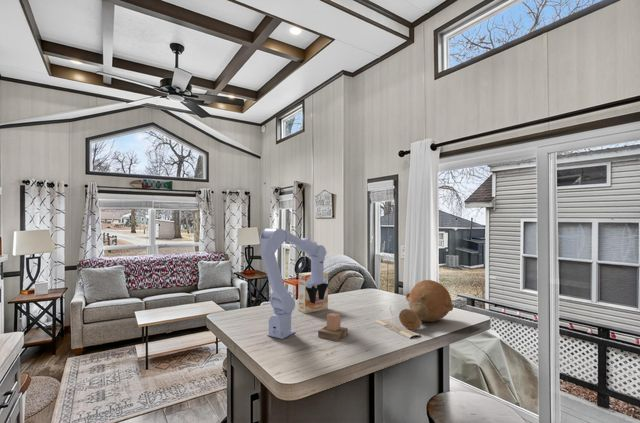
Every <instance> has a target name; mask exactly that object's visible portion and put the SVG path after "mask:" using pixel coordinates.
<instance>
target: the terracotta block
mask: <svg viewBox="0 0 640 423" xmlns="http://www.w3.org/2000/svg"><path fill="white" fill-rule="evenodd" d="M326 326H327V330H332V331H336V330H339V329H340V327H341V313H337V312H330V313H327V314H326Z"/></svg>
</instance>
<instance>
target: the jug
mask: <svg viewBox="0 0 640 423" xmlns="http://www.w3.org/2000/svg"><path fill="white" fill-rule="evenodd" d="M405 299H406V301H407V302H408V306H409V309H408V308H404V309H402V310H400V313H399V315H398V319H399V321H400V323H401V324H402V326H404V328H405V329H408V330H410V331H417V330H419V329H420V328H421V325H422V324H423V322H427V323H428V322H429V323H430V322H431V323H433V322H437V321H440V320H441V319H443V318H445V317H446V316H447V315H448V314H449V312H452V311H453V309H454V306H453V304H452V297H451V294H450V291H448V289H447V288H446V287H445V286H444V285H442V284H441V283H439V282H438V281H435V280H431V279H426V280H421V281H419V282H418V283H416V284H415V285H413V287H412V289H411V291H410V293H407V294H406V295H405Z"/></svg>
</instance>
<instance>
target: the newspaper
mask: <svg viewBox="0 0 640 423" xmlns="http://www.w3.org/2000/svg"><path fill="white" fill-rule="evenodd" d="M375 324H378V325H380V326H383V327H385V328H387V329H388V330H391V331H392V332H395V333H396V334H399V335H401V336H403V337H405V338H407V339H411V337H414V336H417V337H422V334H419V333H417V332H414V331H413V330H410V329H407V328H406V327H402V326H401V325H398V324H397V323H393V322H391V321H389V320H387V319H383V318H380V319H377V320H375Z"/></svg>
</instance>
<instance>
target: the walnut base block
mask: <svg viewBox="0 0 640 423" xmlns="http://www.w3.org/2000/svg"><path fill="white" fill-rule="evenodd" d="M348 329H349V328H348V327H344V326H340V329H339V330H336V331H332V330H327V325H325V326H324V327H321V328H320V329H319V330H318V331H317V337H318V338H322V339H327V340H331V341H336V342H339V341H340V340H342V339H343V338H344V337H346V336H347V335H349V334H348V331H349V330H348Z"/></svg>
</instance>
